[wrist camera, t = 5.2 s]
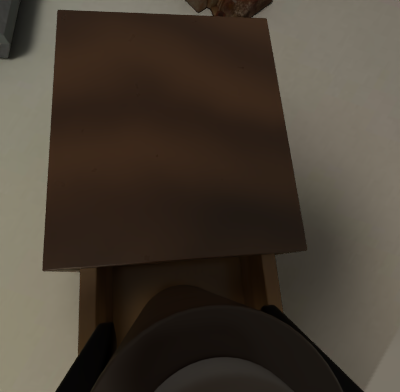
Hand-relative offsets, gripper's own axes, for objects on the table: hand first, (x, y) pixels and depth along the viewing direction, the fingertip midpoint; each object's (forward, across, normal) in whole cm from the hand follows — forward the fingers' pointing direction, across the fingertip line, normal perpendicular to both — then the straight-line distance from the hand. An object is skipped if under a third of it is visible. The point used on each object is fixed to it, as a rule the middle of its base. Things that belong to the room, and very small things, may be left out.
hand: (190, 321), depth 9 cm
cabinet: (+15, 0, +2) cm, 15 cm away
